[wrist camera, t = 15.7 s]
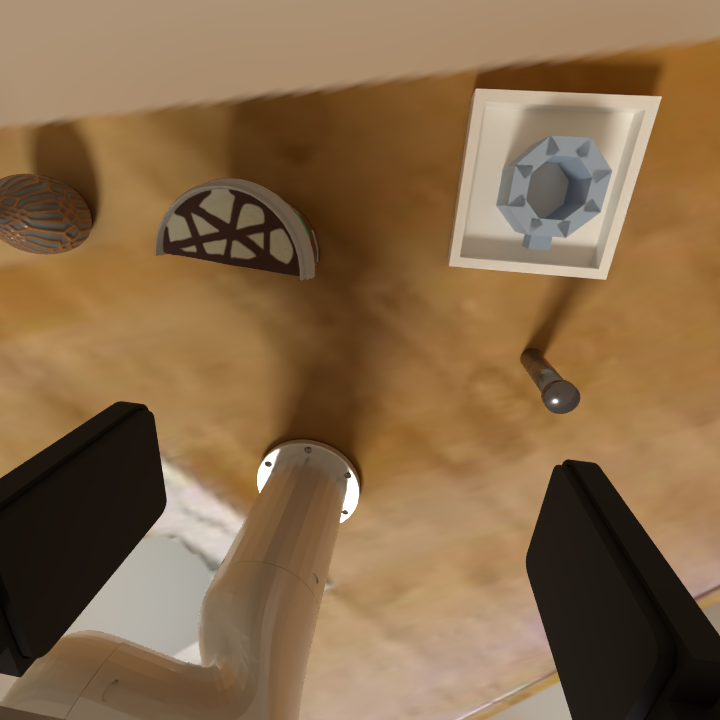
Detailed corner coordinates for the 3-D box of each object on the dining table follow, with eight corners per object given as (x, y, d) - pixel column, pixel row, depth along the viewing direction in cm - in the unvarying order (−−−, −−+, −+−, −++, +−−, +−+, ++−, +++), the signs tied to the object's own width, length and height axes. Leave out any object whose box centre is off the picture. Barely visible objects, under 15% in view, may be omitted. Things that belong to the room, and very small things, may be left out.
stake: (541, 371, 39) (574, 415, 31) (514, 368, 39) (540, 411, 31) (547, 347, 38) (584, 386, 30) (520, 344, 38) (549, 382, 30)
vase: (86, 169, 37) (-5, 158, 29) (116, 242, 40) (39, 252, 31) (28, 185, 39) (-74, 180, 31) (60, 255, 41) (-27, 268, 33)
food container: (342, 195, 35) (316, 191, 26) (334, 263, 37) (308, 282, 28) (212, 174, 36) (142, 163, 27) (212, 242, 38) (148, 254, 29)
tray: (593, 274, 35) (606, 279, 32) (446, 262, 36) (448, 266, 34) (642, 105, 30) (661, 96, 28) (471, 97, 31) (475, 88, 29)
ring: (593, 148, 31) (621, 139, 27) (567, 249, 34) (588, 255, 29) (507, 143, 31) (521, 133, 27) (488, 242, 34) (499, 247, 30)
